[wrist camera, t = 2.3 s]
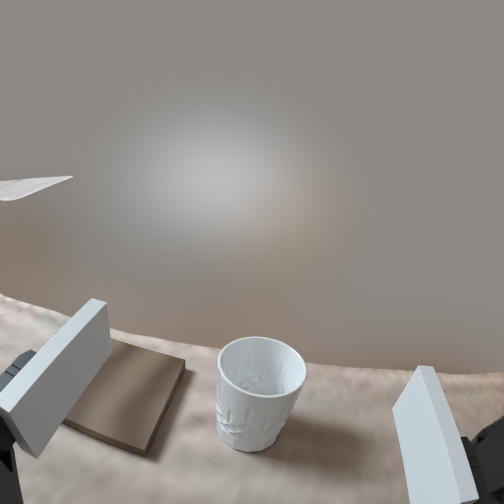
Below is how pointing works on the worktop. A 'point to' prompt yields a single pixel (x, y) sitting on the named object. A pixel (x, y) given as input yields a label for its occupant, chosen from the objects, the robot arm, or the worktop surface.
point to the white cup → (256, 391)
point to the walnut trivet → (127, 397)
